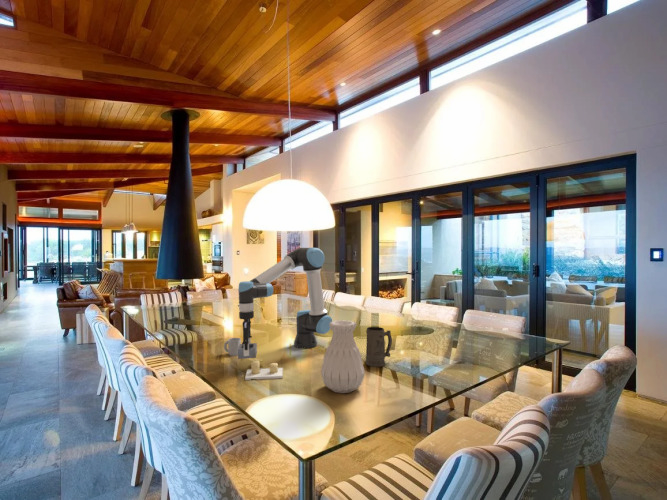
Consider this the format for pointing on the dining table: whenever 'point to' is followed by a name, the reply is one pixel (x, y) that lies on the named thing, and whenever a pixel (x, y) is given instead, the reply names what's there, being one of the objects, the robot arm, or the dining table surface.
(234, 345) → the cup
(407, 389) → the dining table surface
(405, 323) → the dining table surface
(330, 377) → the vase
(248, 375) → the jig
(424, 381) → the dining table surface
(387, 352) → the beer stein
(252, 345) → the collar
